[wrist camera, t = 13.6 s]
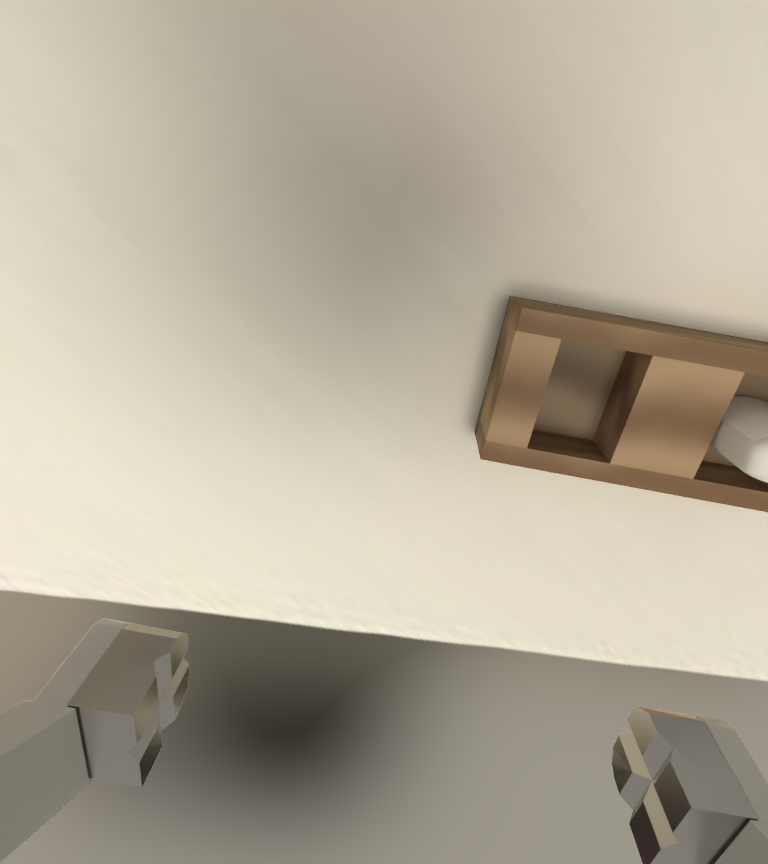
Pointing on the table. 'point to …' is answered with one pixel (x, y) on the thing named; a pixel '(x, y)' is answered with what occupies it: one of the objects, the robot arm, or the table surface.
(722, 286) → the table surface
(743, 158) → the table surface
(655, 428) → the walnut slot rail
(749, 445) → the eye dropper bottle
